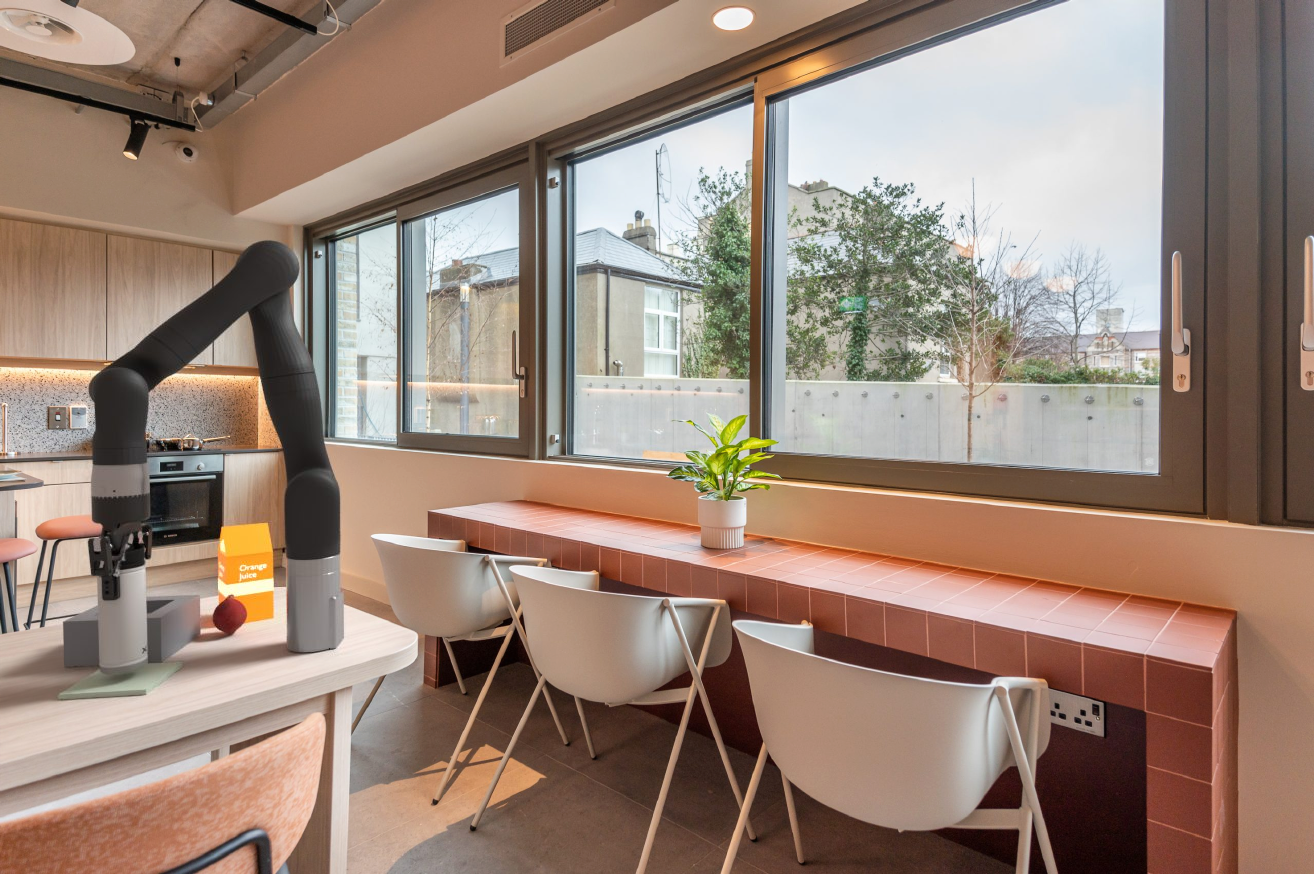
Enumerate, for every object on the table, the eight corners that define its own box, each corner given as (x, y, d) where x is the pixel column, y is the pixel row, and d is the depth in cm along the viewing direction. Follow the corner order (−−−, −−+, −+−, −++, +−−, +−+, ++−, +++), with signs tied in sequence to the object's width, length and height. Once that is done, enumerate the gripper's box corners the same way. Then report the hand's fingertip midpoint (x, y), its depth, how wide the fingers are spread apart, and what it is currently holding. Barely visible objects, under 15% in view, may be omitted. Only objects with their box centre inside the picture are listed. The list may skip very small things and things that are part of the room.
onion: (230, 640, 134) (230, 599, 133) (205, 637, 135) (204, 597, 135) (254, 630, 139) (253, 591, 139) (229, 628, 141) (228, 589, 140)
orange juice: (218, 617, 148) (217, 524, 147) (264, 609, 154) (263, 520, 153) (226, 626, 142) (225, 529, 141) (274, 618, 148) (273, 525, 147)
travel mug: (158, 663, 115) (155, 544, 114) (113, 677, 109) (110, 551, 108) (136, 657, 118) (133, 540, 117) (91, 670, 112) (87, 547, 111)
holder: (200, 634, 137) (199, 594, 136) (161, 662, 122) (160, 617, 122) (114, 638, 134) (113, 597, 133) (64, 667, 119) (63, 621, 119)
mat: (183, 666, 120) (183, 661, 120) (146, 694, 109) (146, 689, 109) (104, 670, 118) (104, 665, 118) (58, 699, 106) (58, 694, 106)
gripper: (121, 497, 106) (124, 605, 106) (169, 486, 120) (171, 582, 121) (65, 498, 104) (68, 608, 105) (120, 486, 118) (122, 583, 119)
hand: (123, 593), depth 113 cm, fingers closed on travel mug, 6 cm apart
